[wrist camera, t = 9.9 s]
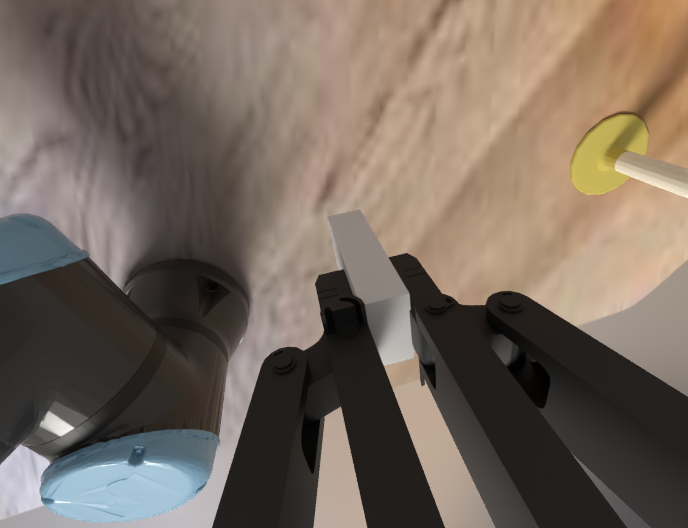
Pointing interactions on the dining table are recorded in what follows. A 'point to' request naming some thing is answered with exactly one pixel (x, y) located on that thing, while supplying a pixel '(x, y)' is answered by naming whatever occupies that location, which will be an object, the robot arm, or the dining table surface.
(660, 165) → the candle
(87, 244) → the dining table surface
